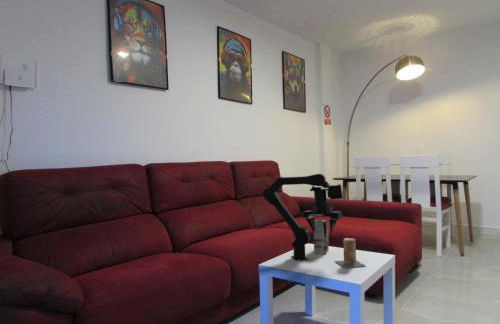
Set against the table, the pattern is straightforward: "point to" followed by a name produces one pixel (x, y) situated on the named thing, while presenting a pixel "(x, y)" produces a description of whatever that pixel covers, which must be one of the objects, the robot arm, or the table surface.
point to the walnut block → (349, 251)
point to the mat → (350, 265)
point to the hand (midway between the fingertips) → (323, 232)
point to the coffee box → (321, 237)
